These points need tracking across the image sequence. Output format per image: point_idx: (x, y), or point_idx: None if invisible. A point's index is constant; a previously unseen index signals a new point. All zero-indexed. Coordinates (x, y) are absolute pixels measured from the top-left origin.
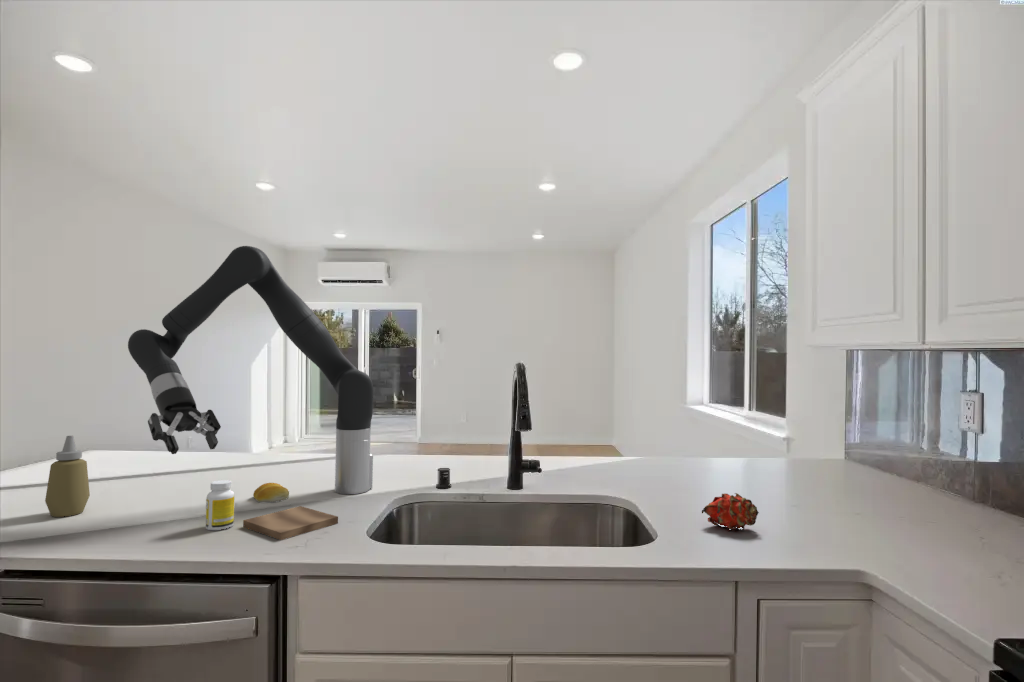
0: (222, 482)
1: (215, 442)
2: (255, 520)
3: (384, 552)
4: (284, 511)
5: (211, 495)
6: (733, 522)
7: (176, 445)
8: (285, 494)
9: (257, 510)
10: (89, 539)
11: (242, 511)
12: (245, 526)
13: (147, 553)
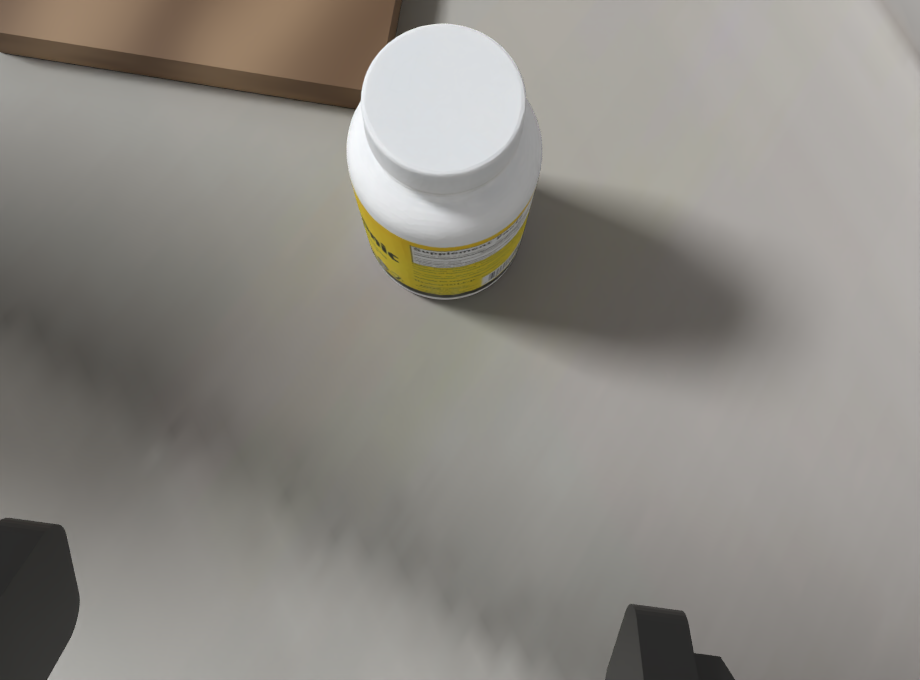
0: (454, 65)
1: (8, 536)
2: (348, 27)
3: None
4: (123, 23)
5: (534, 129)
6: None
7: (661, 649)
8: None
9: (74, 328)
10: None
11: (135, 397)
12: None
13: (899, 175)
